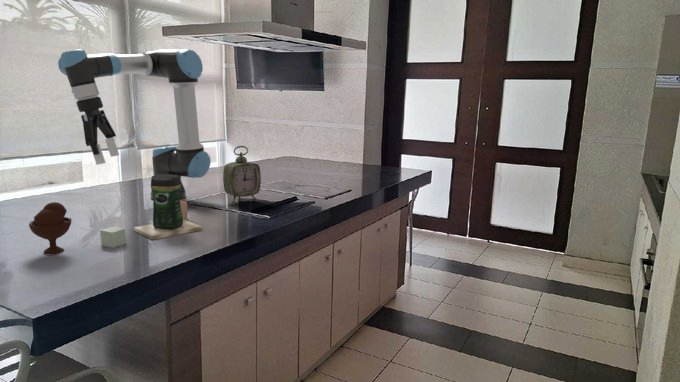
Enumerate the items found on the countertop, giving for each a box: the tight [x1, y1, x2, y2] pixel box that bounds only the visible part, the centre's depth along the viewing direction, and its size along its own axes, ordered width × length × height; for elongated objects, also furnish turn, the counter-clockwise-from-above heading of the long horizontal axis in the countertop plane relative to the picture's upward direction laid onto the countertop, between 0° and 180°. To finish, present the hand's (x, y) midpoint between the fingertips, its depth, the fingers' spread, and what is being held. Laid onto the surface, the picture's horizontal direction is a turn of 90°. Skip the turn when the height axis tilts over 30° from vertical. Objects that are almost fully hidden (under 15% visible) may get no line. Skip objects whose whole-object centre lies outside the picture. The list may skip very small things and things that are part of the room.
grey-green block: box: [99, 226, 127, 248], centre depth 154 cm, size 5×5×5 cm
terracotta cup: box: [180, 199, 189, 221], centre depth 185 cm, size 7×7×7 cm
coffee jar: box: [150, 174, 183, 229], centre depth 170 cm, size 10×8×19 cm
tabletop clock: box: [222, 145, 262, 206], centre depth 214 cm, size 14×9×25 cm, turn 131°
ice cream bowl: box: [28, 201, 72, 255], centre depth 145 cm, size 11×11×15 cm
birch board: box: [133, 219, 203, 241], centre depth 171 cm, size 18×14×1 cm
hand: (108, 159), depth 168 cm, fingers open, 13 cm apart
